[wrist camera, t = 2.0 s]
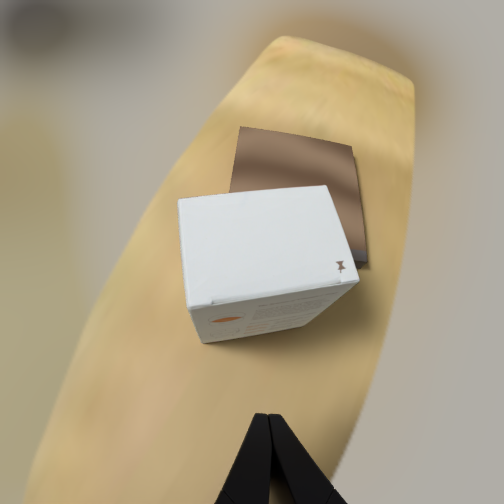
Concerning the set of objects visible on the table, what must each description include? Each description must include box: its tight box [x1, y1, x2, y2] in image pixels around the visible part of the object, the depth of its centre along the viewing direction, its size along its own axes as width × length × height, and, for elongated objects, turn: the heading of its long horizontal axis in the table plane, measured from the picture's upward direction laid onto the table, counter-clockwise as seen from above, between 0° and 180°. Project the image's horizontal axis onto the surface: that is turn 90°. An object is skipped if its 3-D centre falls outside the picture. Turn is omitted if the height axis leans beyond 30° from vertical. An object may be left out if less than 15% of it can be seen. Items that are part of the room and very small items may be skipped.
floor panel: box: [229, 126, 367, 269], centre depth 27 cm, size 14×12×2 cm
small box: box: [177, 185, 360, 344], centre depth 18 cm, size 8×6×10 cm
